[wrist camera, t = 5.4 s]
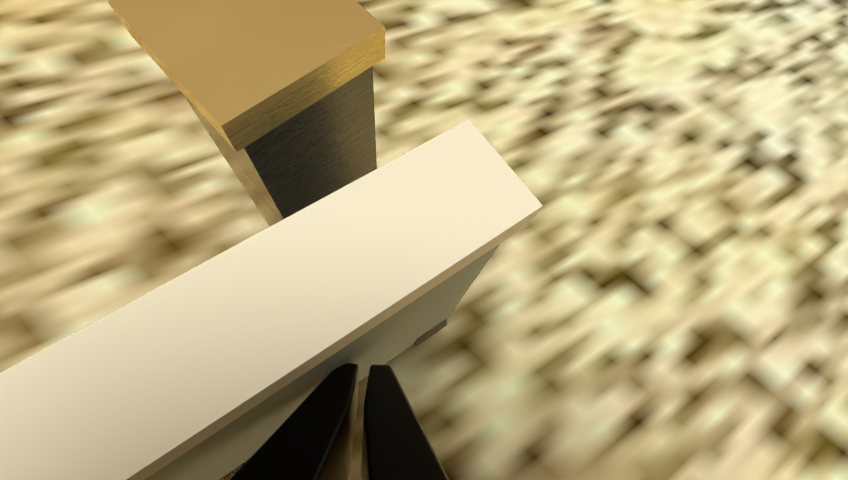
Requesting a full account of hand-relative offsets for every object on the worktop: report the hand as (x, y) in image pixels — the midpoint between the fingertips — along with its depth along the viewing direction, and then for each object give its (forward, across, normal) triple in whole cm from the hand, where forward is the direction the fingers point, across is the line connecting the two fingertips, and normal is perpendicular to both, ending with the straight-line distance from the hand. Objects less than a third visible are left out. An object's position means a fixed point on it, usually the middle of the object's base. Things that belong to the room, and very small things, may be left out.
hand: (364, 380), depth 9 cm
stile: (+8, +2, +1) cm, 8 cm away
